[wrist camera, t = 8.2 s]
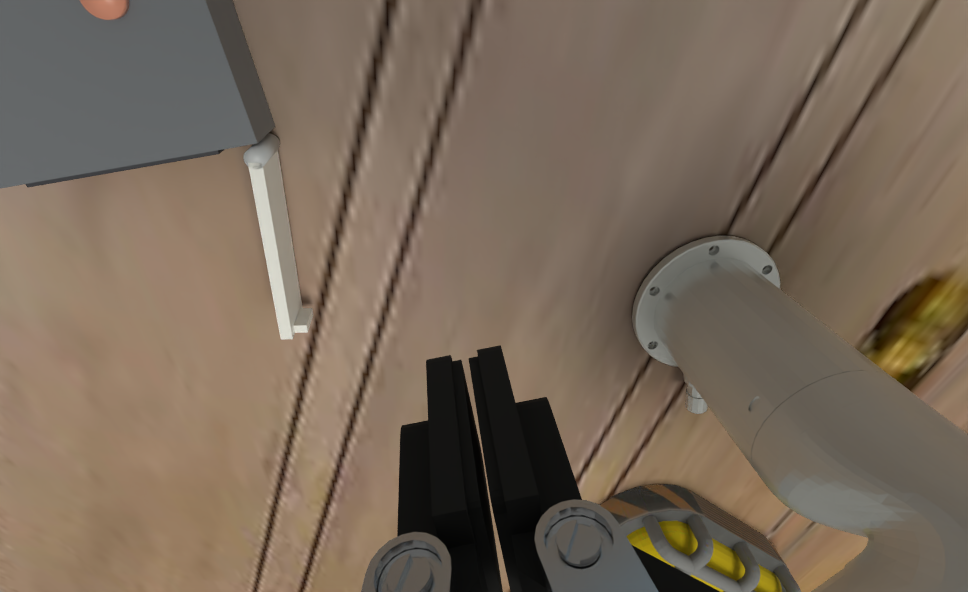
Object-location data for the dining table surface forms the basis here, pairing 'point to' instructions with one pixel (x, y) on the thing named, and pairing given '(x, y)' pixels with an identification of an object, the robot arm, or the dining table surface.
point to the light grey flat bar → (277, 236)
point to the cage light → (700, 539)
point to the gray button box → (122, 86)
